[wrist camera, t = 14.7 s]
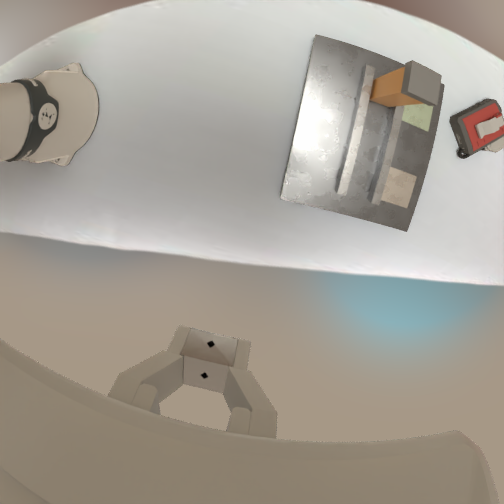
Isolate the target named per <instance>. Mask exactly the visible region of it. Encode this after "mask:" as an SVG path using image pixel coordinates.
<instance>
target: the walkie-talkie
mask: <svg viewBox="0 0 504 504" xmlns="http://www.w3.org/2000/svg"><path fill="white" fill-rule="evenodd" d="M501 112H502V110H501V107H500V106H499V104H498V103H497V101H496V100H494V99H486V100H484V101H482V102H479V103H478V104H475V105H473V106H472V107H471V108H467V109H465V110H463V111H461V112H459V113H457V114H455V115H453V116H452V117H450V121H449V122H450V124H451V127H452V130H453V132H454V135H455V137H456V140H457V143H458V146H459V149H460V150H459V151H458V155H459V157H460V158H462V159H465V158H467V157H469V156H471V155H472V154H474V153H476V152H478V151H480V150H484V151H487V150H489V151H492V152H498V151H499V150H501V149H502V148H504V119H503V116H502V113H501ZM462 152H463V153H465V154H466V155H464V156H462Z"/></svg>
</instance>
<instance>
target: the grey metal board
mask: <svg viewBox="0 0 504 504" xmlns="http://www.w3.org/2000/svg"><path fill="white" fill-rule="evenodd" d="M402 67H405V65H404V64H401V63H399V62H397V61H395V60H392V59H390V58H387V57H385V56H382V55H380V54H377V53H374V52H372V51H369V50H366V49H363V48H360V47H357V46H354V45H351V44H348V43H345V42H342V41H338V40H335V39H331V38H328V37H324V36H320V35H315V37H314V41H313V46H312V51H311V56H310V61H309V66H308V71H307V75H306V80H305V85H304V90H303V95H302V99H301V104H300V109H299V113H298V118H297V123H296V127H295V132H294V137H293V141H292V146H291V150H290V155H289V159H288V164H287V168H286V173H285V177H284V182H283V186H282V191H281V195H280V199H282V200H286V201H291V202H295V203H300V204H304V205H308V206H312V207H317V208H321V209H325V210H329V211H333V212H337V213H341V214H345V215H348V216H352V217H356V218H360V219H364V220H367V221H371V222H375V223H378V224H382V225H385V226H389V227H392V228H396V229H399V230H402V231H406V232H407V230H408V227H409V225H410V222H411V219H412V216H413V213H414V210H415V207H416V204H417V201H418V198H419V195H420V192H421V189H422V185H423V182H424V178H425V175H426V171H427V168H428V164H429V160H430V156H431V152H432V148H433V144H434V140H435V135H436V131H437V126H438V121H439V116H440V110H441V104H442V98H443V92H444V84H442V83H441V84H440V91H439V97H438V103H437V106H428V105H426V104H414V105H404V106H394V107H387V106H384V105H381V104H379V103H376V102H373V101H370V100H369V98H370V93H371V88H372V83H373V80H374V79H376V78H378V77H381V76H383V75H385V74H388V73H390V72H393V71H395V70H397V69H400V68H402Z"/></svg>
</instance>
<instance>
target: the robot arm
mask: <svg viewBox="0 0 504 504" xmlns="http://www.w3.org/2000/svg"><path fill="white" fill-rule="evenodd" d="M97 116H98V96H97V92H96V89H95V87H94V85H93V83H92V82H91V81H90V80H89V79H88V78H87V77H86V76H85V75H84V74H83V72H82V69H81V66H80V64H79V63H71V64H69V65H67V66H64V67H62V68H60V69H58V70H46V71H44V72H43V73H42V74H39V75H38V76H36V77H35V78H33V79H29V78H25V79H19V80H14V81H12V82H11V83H0V162H2V161H8V162H11V161H18V160H22V161H27V160H29V162H31V163H33V162H35V163H41V162H45V161H50V162H52V163H55V164H57V165H60V166H66V165H68V164H69V162H70V161H71V159H72V157H73V155H74V153H75V152H76V151H77V150H78V149H80V148H81V147H82V146H83V145H84V144H85V143H86V142H87V140H88V139H89V137H90V136H91V134H92V132H93V130H94V127H95V124H96V121H97ZM250 345H251V341H249V340H244V339H238V338H234V337H228V336H224V335H219V334H214V333H210V332H206V331H202V330H198V329H195V328H190V327H186V326H183V325H179V326H178V327H177V329H176V331H175V334H174V336H173V338H172V340H171V343H170V345H169V347H168V349H167V351H161V352H159V353H157V354H156V355H154V356H152V357H150V358H148V359H146V360H144V361H143V362H141V363H139V364H137V365H135V366H133V367H132V368H129V369H127V370H126V371H124V372H122V373H120V374H119V375H118V377H117V379H116V381H115V383H114V385H113V386H112V388H111V390H110V392H109V394H108V396H106V395H103V394H101V393H99V392H97V391H94V390H92V389H90V388H88V387H85V386H83V385H81V384H79V383H77V382H75V381H73V380H70V379H69V378H67V377H65V376H62V375H61V374H59V373H57V372H55V371H53V370H51V369H49V368H48V367H46V366H44V365H42V364H40V363H39V362H37V361H35V360H34V359H32V358H30V357H29V356H27V355H25V354H24V353H22V352H20V351H19V350H17V349H15V348H14V347H13V346H11V345H10V344H8V343H7V342H5V341H4V340H2V339H1V338H0V504H499V499H498V495H497V491H496V487H495V484H494V480H493V477H492V474H491V471H490V468H489V465H488V462H487V460H486V458H485V456H484V453H483V452H482V450H481V448H480V447H479V446H478V445H476V444H475V443H474V442H473V441H472V440H471V439H469V438H468V437H467V436H466V435H464V434H463V433H462V432H460V431H449V432H445V433H440V434H434V435H428V436H421V437H414V438H406V439H397V440H386V441H371V442H312V441H296V440H284V439H276V431H277V411H276V410H275V408H274V407H273V405H272V404H271V402H270V401H269V399H268V398H267V396H266V394H265V393H264V391H263V390H262V388H261V387H260V385H259V384H258V382H257V380H256V379H255V377H254V376H253V374H252V372H251V371H249V370H247V366H248V359H249V352H250ZM183 384H186V385H190V386H194V387H199V388H203V389H207V390H211V391H215V392H219V393H223V395H224V398H225V400H226V402H227V405H228V407H229V409H230V411H231V416H230V419H229V423H228V426H227V430H226V431H222V430H217V429H212V428H208V427H204V426H199V425H195V424H191V423H187V422H183V421H179V420H176V419H172V418H169V417H165V416H162V415H161V414H160V407H159V403H160V402H161V401H163V400H164V399H165V398H167V397H168V396H169V395H171V394H172V393H173V392H175V391H176V390H177V389H178V388H180V387H181V386H182V385H183Z"/></svg>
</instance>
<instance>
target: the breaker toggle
mask: <svg viewBox="0 0 504 504" xmlns="http://www.w3.org/2000/svg"><path fill="white" fill-rule="evenodd" d="M441 76H442V75H440V74H438V73H436V72H435V71H433V70H431V69H429V68H427V67H425V66H423V65H421V64H419V63H417V62H415V61H413V60H412V61H410V62H407V63H405V67H402V68H400V69H397V70H395V71H393V72H390V73H388V74H385V75H383V76H381V77H378V78H376V79H374V80H373V83H372V88H371V93H370V98H369V100H370V101H373V102H376V103H379V104H381V105H384V106H387V107H394V106H404V105H414V104H426V105H428V106H437V103H438V97H439V91H440V84H441Z"/></svg>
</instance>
